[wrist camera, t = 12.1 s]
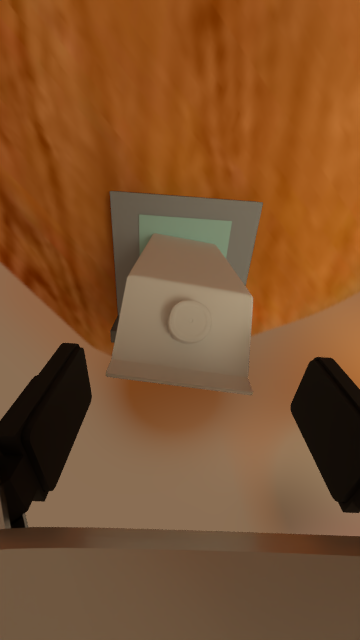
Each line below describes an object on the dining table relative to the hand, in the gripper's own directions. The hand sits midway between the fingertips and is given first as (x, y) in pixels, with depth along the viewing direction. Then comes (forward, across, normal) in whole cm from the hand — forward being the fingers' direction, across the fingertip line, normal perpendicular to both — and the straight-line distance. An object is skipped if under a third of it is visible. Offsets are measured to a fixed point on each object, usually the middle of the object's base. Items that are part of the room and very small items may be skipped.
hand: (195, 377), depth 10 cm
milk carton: (+20, +1, +2) cm, 20 cm away
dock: (+23, 0, +2) cm, 23 cm away
